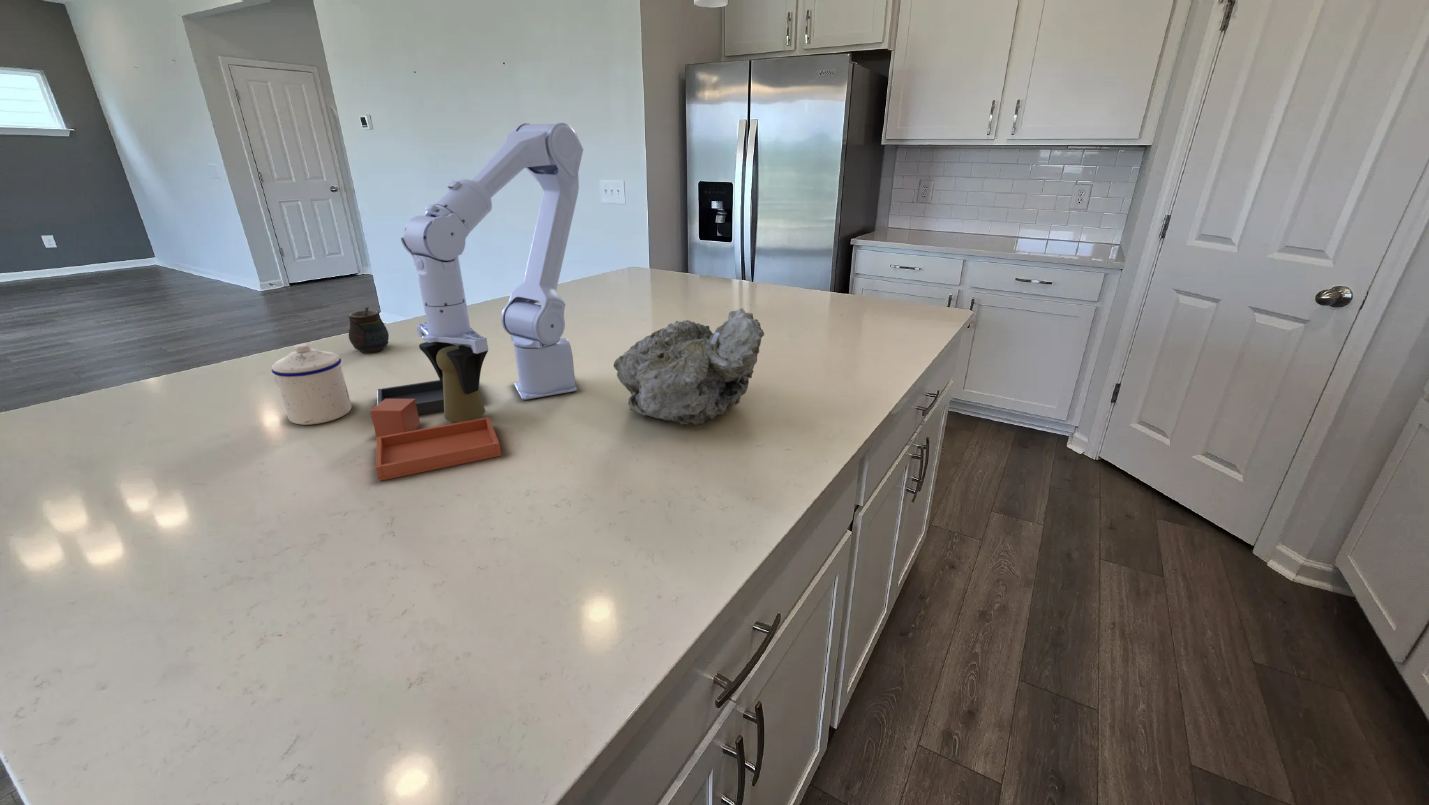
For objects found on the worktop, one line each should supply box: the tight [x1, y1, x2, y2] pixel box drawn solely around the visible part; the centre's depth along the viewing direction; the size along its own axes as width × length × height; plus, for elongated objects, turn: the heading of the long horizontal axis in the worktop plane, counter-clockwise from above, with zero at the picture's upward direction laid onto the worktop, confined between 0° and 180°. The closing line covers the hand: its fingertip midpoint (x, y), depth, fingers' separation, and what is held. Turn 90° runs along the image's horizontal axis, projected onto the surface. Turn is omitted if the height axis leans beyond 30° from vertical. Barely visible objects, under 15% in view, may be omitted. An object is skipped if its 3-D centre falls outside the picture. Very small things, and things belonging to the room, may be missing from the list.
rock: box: [613, 308, 765, 426], centre depth 93 cm, size 24×17×25 cm
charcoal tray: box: [376, 379, 444, 416], centre depth 99 cm, size 15×10×2 cm, turn 118°
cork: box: [436, 346, 486, 423], centre depth 90 cm, size 6×6×11 cm
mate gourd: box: [348, 306, 390, 354], centre depth 122 cm, size 7×8×10 cm
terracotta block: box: [369, 399, 421, 438], centre depth 88 cm, size 4×4×4 cm
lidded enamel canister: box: [271, 343, 352, 426], centre depth 92 cm, size 12×9×12 cm
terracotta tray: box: [375, 416, 502, 482], centre depth 82 cm, size 15×10×2 cm, turn 118°
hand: (460, 388), depth 91 cm, fingers closed on cork, 5 cm apart
